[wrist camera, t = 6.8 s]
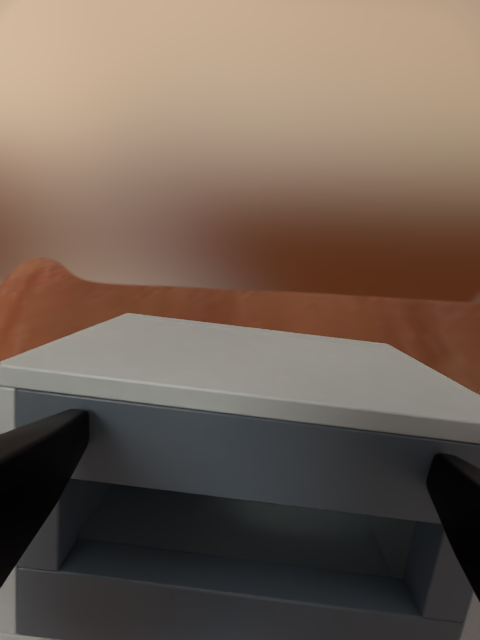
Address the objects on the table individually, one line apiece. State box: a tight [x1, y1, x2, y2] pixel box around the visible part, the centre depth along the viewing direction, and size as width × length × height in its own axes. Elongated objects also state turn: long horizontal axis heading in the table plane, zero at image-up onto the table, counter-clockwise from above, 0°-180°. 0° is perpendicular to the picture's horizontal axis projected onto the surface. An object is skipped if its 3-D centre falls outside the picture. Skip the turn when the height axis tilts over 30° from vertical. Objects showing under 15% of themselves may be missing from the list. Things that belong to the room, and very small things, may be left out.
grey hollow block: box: [0, 313, 480, 640], centre depth 13 cm, size 9×14×9 cm
